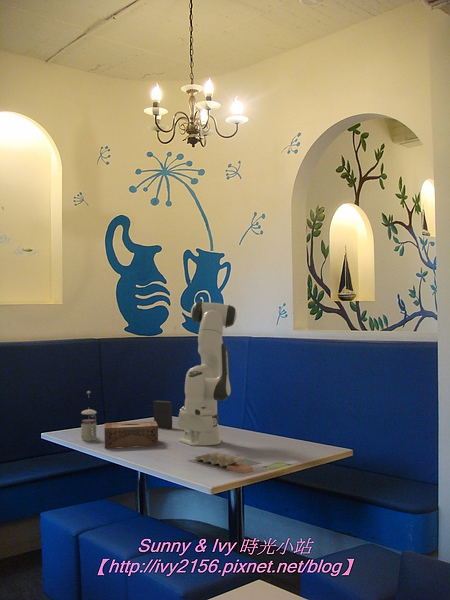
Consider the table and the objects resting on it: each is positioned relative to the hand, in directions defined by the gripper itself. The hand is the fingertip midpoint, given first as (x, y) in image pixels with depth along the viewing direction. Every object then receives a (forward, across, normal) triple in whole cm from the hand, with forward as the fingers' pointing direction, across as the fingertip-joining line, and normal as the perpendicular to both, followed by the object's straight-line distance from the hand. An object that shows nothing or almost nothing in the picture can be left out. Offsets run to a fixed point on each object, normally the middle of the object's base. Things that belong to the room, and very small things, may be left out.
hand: (194, 440), depth 277 cm
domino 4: (+7, +19, 0) cm, 20 cm away
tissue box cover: (+10, -52, +1) cm, 53 cm away
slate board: (+9, +13, +5) cm, 17 cm away
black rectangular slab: (+10, -78, +40) cm, 88 cm away
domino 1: (+7, +3, 0) cm, 8 cm away
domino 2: (+7, +8, 0) cm, 11 cm away
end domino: (+7, +23, 0) cm, 24 cm away
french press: (+10, -80, -6) cm, 80 cm away
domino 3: (+7, +14, 0) cm, 15 cm away
